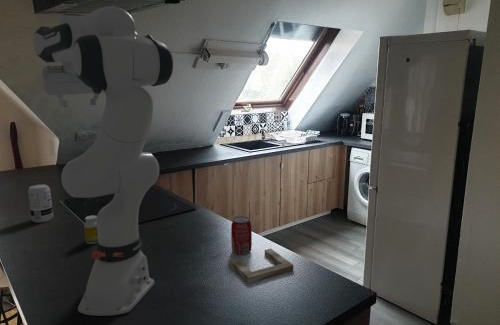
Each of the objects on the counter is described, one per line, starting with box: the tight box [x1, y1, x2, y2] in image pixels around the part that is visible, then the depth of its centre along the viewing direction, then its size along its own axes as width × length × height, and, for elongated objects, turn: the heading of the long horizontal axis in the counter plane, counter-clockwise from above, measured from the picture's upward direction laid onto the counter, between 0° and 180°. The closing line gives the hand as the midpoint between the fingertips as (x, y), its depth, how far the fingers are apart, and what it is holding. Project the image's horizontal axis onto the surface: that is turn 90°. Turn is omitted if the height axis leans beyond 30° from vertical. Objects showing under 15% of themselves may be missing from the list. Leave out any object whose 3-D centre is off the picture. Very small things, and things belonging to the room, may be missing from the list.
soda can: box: [230, 215, 253, 256], centre depth 129 cm, size 7×7×12 cm
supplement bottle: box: [83, 215, 98, 245], centre depth 138 cm, size 5×5×10 cm
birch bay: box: [228, 248, 294, 285], centre depth 119 cm, size 14×16×2 cm
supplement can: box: [27, 183, 54, 224], centre depth 160 cm, size 8×8×15 cm
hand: (79, 105), depth 129 cm, fingers open, 8 cm apart
